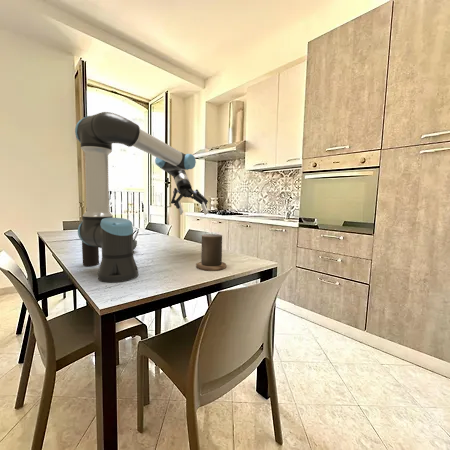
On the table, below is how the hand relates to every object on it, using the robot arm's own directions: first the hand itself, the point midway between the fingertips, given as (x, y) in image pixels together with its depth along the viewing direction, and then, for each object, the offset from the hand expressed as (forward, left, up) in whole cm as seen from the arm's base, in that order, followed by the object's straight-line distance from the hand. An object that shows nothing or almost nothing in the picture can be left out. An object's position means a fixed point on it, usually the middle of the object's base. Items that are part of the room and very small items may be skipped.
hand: (194, 213), depth 130 cm
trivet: (-5, -14, -24) cm, 28 cm away
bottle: (-35, +34, -25) cm, 55 cm away
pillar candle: (-4, -14, -23) cm, 27 cm away
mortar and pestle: (-9, +42, -25) cm, 50 cm away
